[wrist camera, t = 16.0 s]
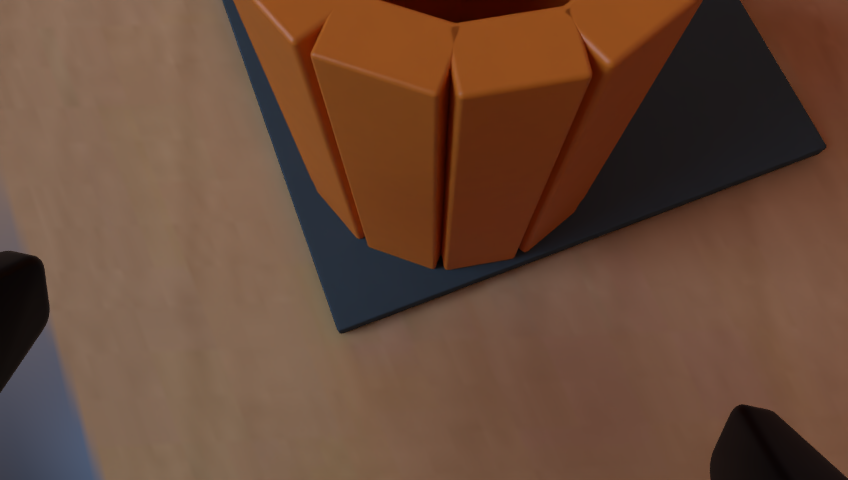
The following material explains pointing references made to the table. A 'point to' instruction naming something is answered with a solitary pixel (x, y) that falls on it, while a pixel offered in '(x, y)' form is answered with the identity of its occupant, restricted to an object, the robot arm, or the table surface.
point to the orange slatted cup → (459, 110)
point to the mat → (617, 180)
